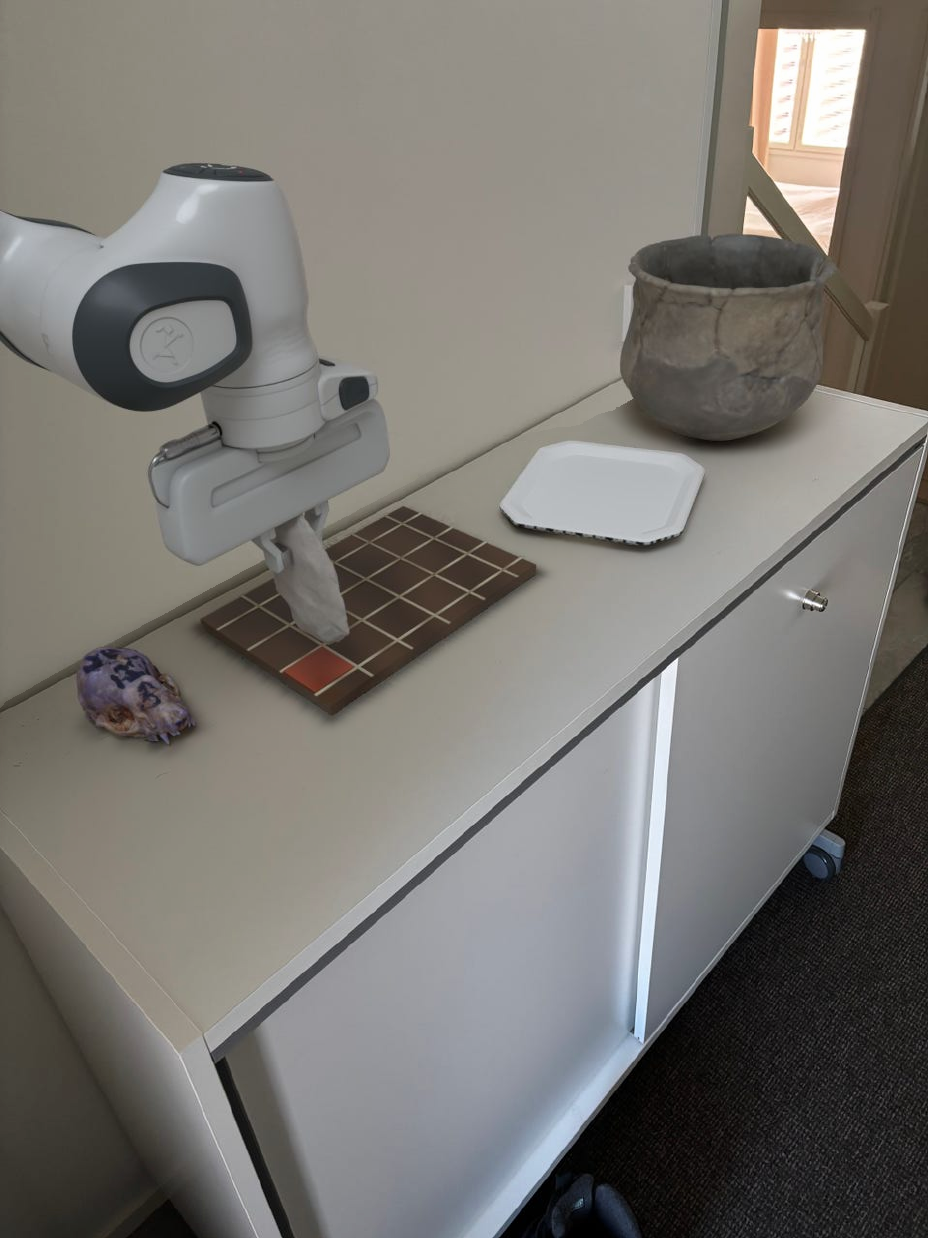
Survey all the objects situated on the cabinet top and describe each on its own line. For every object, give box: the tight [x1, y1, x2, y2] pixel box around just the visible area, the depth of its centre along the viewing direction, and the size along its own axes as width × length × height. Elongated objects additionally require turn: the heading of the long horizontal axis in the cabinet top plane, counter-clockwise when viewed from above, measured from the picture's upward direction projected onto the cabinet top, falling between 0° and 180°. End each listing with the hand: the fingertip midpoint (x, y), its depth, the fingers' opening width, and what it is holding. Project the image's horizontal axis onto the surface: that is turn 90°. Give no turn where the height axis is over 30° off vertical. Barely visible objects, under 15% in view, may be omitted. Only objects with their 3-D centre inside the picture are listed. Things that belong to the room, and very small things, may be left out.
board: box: [200, 505, 537, 716], centre depth 93 cm, size 28×20×1 cm
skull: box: [75, 646, 196, 745], centre depth 80 cm, size 12×8×6 cm, turn 45°
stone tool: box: [270, 513, 350, 645], centre depth 78 cm, size 9×3×15 cm, turn 56°
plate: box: [499, 440, 706, 546], centre depth 106 cm, size 21×21×2 cm
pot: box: [619, 233, 838, 442], centre depth 115 cm, size 25×24×21 cm
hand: (296, 558), depth 76 cm, fingers closed on stone tool, 2 cm apart
